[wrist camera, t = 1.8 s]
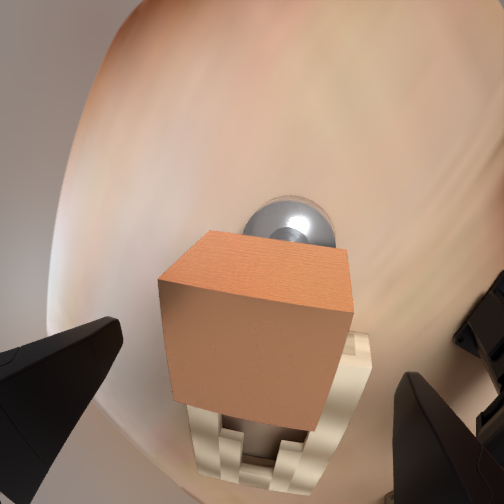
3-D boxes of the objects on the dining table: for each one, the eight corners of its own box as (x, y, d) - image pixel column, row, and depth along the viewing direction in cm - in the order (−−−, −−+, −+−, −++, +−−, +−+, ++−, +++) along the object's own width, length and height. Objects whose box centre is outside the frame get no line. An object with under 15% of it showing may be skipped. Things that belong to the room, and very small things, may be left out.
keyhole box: (198, 307, 22) (177, 335, 19) (367, 333, 19) (372, 368, 16) (208, 450, 29) (198, 473, 26) (313, 469, 27) (309, 495, 24)
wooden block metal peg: (341, 202, 17) (359, 309, 7) (327, 283, 19) (316, 433, 9) (250, 190, 18) (154, 274, 8) (246, 271, 20) (171, 401, 10)
